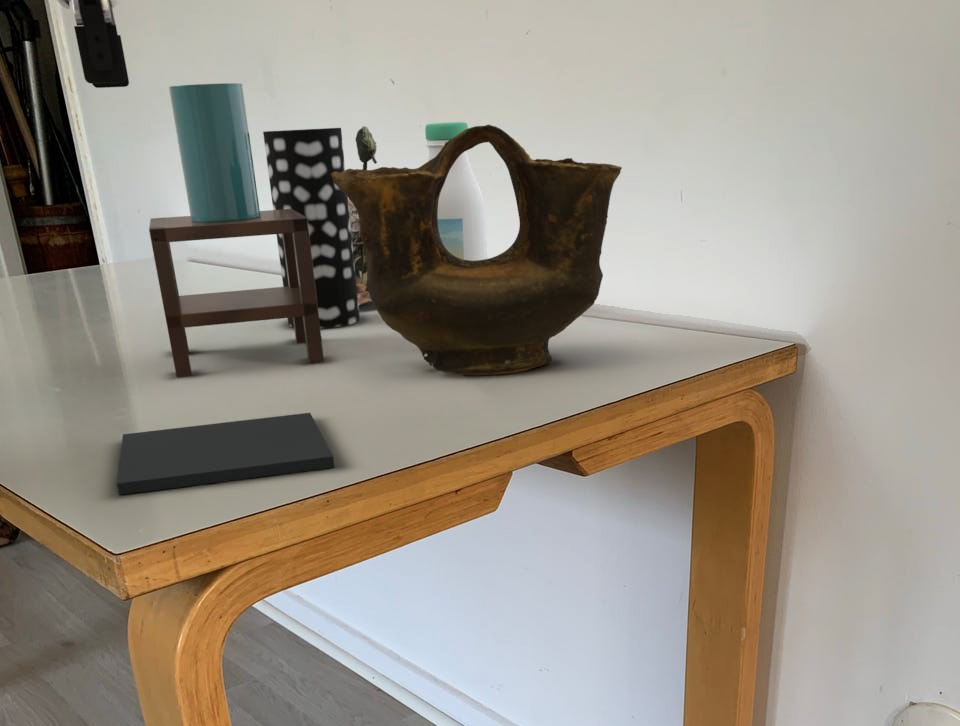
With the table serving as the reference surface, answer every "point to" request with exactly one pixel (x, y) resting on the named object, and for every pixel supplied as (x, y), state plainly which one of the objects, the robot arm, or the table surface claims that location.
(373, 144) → the plant with pod
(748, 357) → the table surface
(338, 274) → the spotted tube
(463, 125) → the milk bottle
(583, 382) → the table surface
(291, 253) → the shelf
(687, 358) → the table surface
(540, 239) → the pottery vessel
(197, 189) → the teal tin can
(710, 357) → the table surface
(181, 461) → the mat
